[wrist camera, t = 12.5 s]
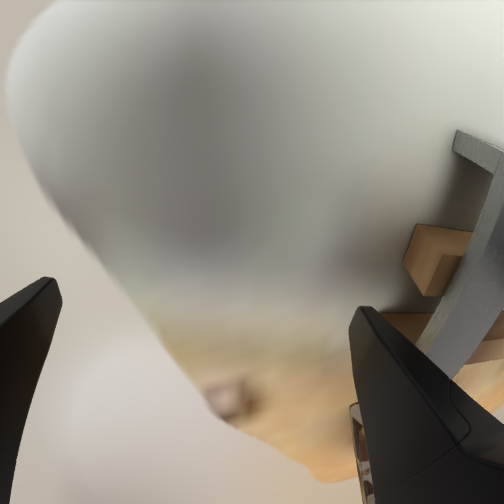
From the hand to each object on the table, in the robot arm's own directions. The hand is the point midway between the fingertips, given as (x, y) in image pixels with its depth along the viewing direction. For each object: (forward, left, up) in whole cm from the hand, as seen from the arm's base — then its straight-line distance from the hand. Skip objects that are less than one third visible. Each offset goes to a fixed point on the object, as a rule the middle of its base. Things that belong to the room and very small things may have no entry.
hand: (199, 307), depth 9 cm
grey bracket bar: (-10, 0, -3) cm, 10 cm away
